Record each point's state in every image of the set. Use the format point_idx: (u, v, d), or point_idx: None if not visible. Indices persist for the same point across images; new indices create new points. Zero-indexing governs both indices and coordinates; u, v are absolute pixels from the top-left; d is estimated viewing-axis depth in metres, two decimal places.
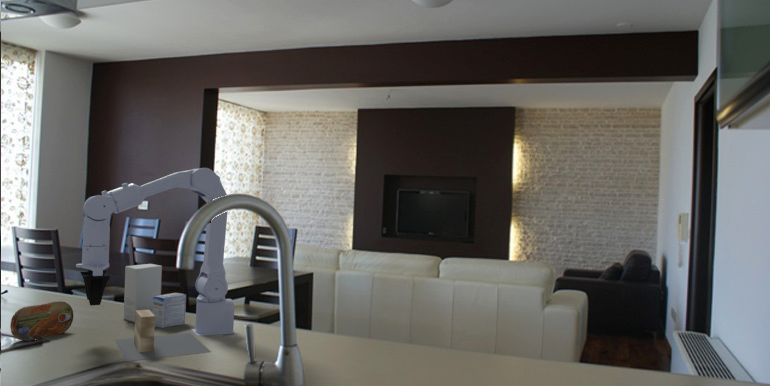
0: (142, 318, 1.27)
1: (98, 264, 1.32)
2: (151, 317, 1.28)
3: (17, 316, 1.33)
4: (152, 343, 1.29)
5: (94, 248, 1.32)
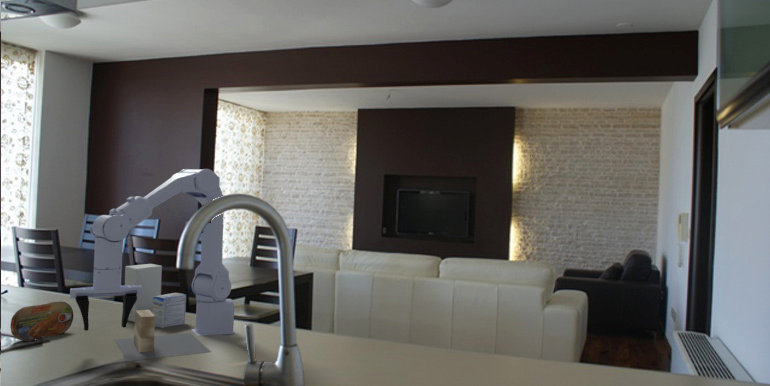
0: (142, 318, 1.27)
1: (93, 287, 1.25)
2: (151, 317, 1.28)
3: (17, 316, 1.33)
4: (152, 343, 1.29)
5: None
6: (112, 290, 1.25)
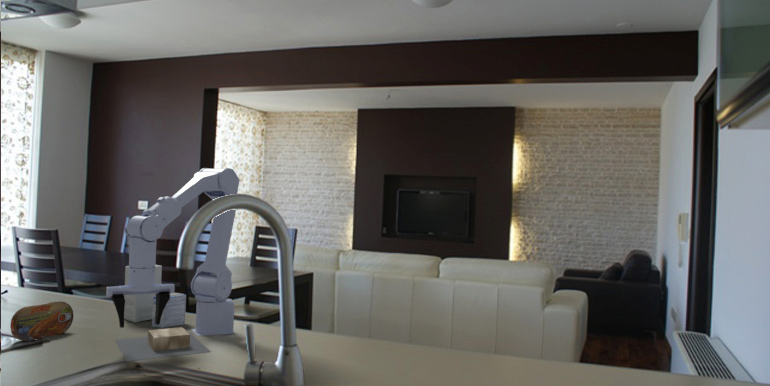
0: (188, 335, 1.33)
1: (128, 286, 1.29)
2: (188, 344, 1.33)
3: (17, 316, 1.33)
4: (161, 348, 1.30)
5: None
6: (147, 288, 1.29)
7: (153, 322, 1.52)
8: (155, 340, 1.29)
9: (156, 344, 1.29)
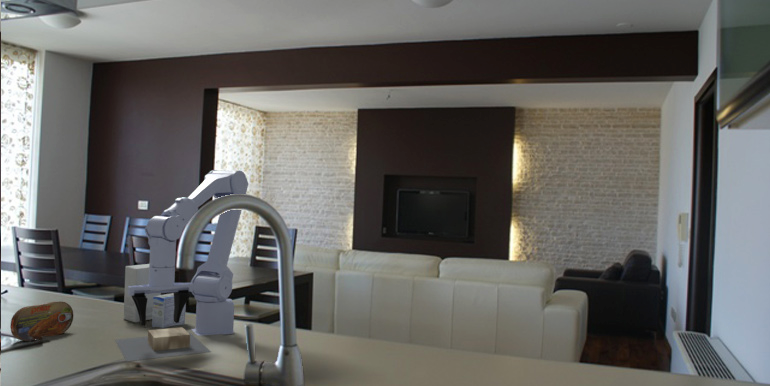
0: (188, 335, 1.33)
1: (149, 285, 1.31)
2: (188, 344, 1.33)
3: (17, 316, 1.33)
4: (161, 348, 1.30)
5: (149, 268, 1.32)
6: (168, 287, 1.31)
7: (153, 322, 1.52)
8: (155, 340, 1.29)
9: (156, 344, 1.29)
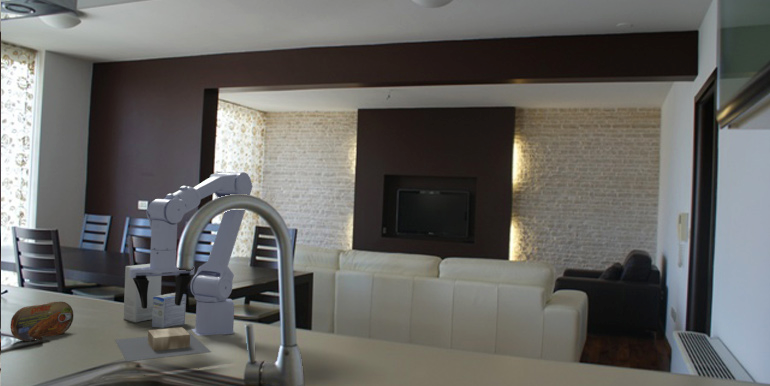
0: (188, 335, 1.33)
1: (150, 267, 1.31)
2: (188, 344, 1.33)
3: (17, 316, 1.33)
4: (161, 348, 1.30)
5: None
6: (169, 270, 1.32)
7: (153, 322, 1.52)
8: (155, 340, 1.29)
9: (156, 344, 1.29)
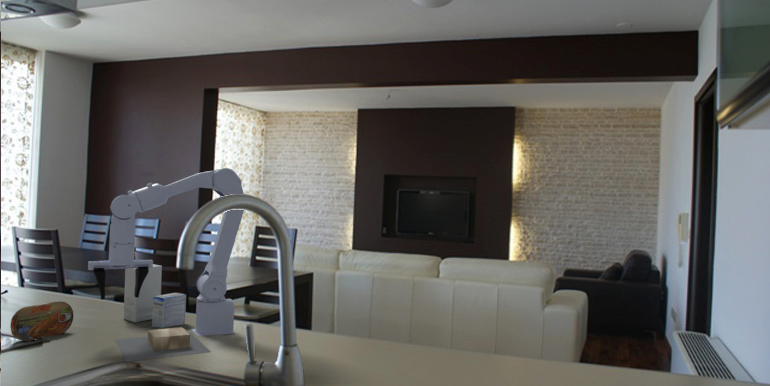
0: (188, 335, 1.33)
1: (108, 260, 1.38)
2: (188, 344, 1.33)
3: (17, 316, 1.33)
4: (161, 348, 1.30)
5: None
6: (126, 263, 1.38)
7: (153, 322, 1.52)
8: (155, 340, 1.29)
9: (156, 344, 1.29)
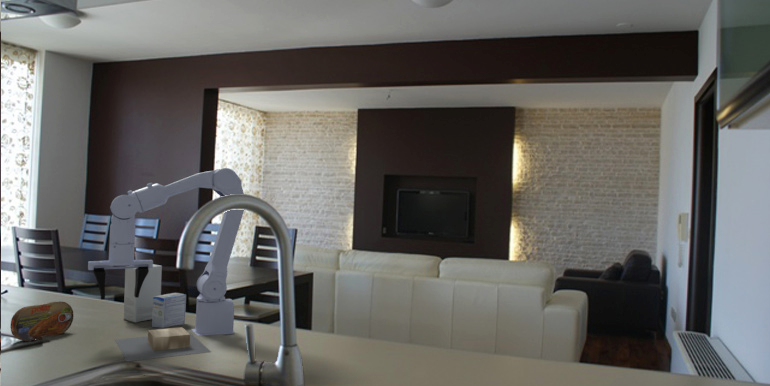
0: (188, 335, 1.33)
1: (108, 260, 1.38)
2: (188, 344, 1.33)
3: (17, 316, 1.33)
4: (161, 348, 1.30)
5: None
6: (126, 263, 1.38)
7: (153, 322, 1.52)
8: (155, 340, 1.29)
9: (156, 344, 1.29)
